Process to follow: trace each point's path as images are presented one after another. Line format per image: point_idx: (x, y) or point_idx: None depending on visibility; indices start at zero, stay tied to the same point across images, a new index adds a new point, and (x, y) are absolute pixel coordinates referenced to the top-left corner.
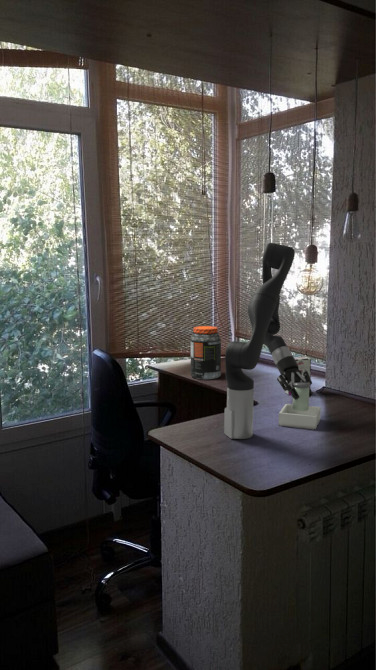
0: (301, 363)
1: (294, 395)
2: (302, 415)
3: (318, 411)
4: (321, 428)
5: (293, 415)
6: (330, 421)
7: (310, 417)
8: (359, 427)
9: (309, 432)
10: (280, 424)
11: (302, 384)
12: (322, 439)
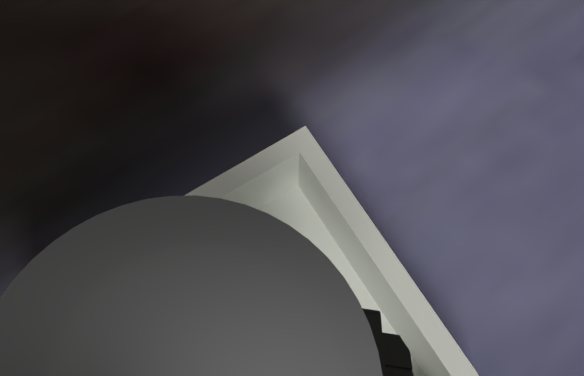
0: None
1: (409, 356)
2: (376, 232)
3: None
4: None
5: (429, 309)
6: (30, 233)
7: (333, 171)
8: (13, 26)
9: (390, 157)
10: None
11: (272, 277)
12: (425, 21)
